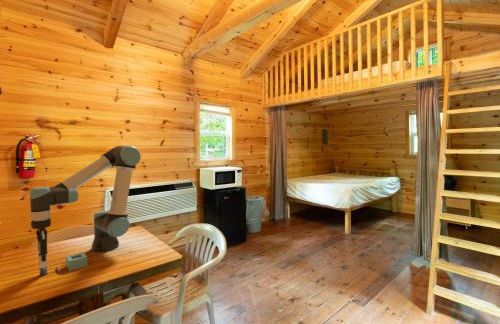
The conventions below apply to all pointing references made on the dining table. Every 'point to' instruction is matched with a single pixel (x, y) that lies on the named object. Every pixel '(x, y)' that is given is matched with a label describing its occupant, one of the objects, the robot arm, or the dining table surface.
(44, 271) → the grey long bar
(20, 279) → the dining table surface
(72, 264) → the green hollow block
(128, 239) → the dining table surface
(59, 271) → the lace
